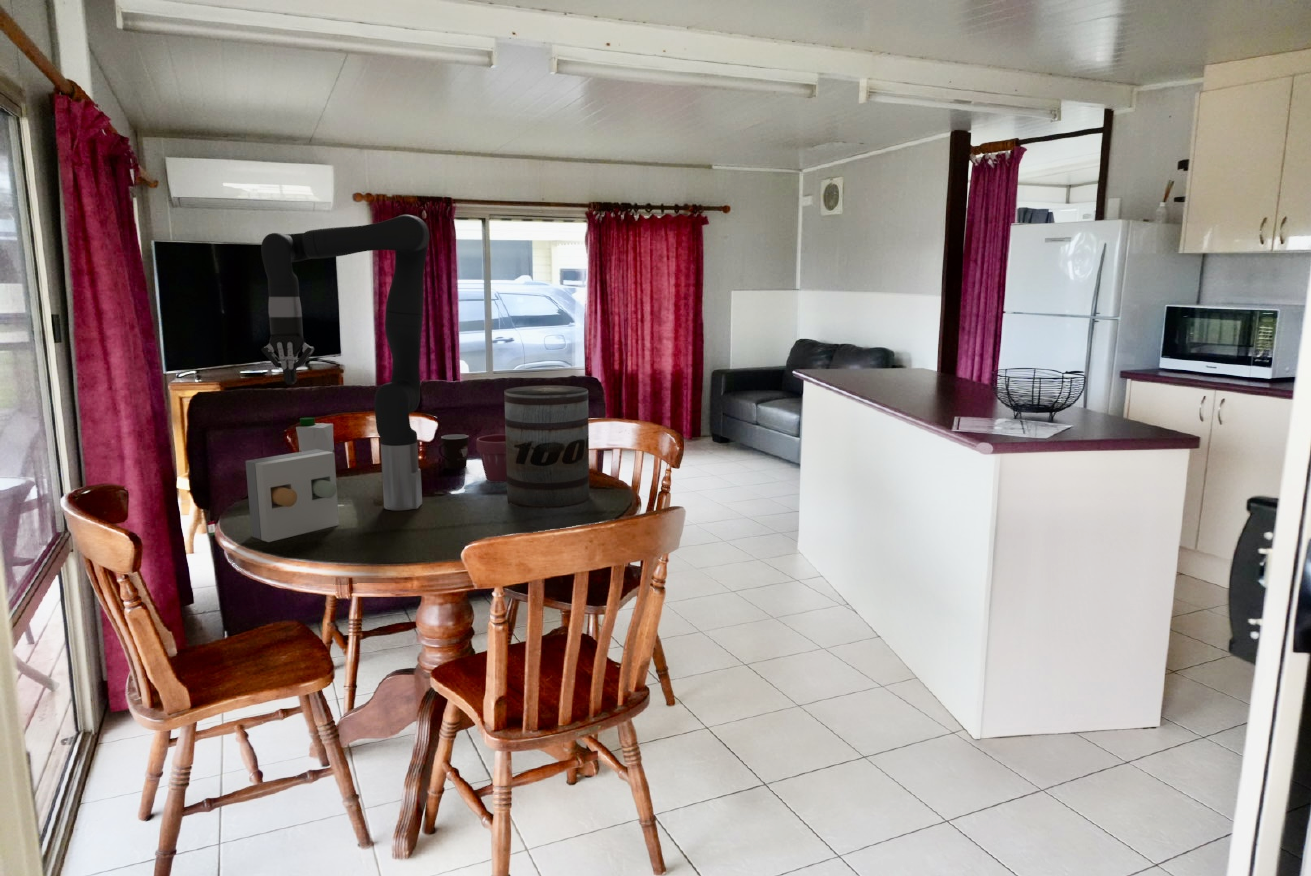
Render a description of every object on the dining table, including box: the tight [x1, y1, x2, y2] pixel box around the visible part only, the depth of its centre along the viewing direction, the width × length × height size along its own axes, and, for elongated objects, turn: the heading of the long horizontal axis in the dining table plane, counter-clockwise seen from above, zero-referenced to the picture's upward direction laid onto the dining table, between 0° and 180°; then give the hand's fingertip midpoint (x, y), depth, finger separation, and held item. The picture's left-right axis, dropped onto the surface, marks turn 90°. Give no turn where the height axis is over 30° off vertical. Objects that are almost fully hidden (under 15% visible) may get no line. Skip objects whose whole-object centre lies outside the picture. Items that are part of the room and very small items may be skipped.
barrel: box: [503, 385, 590, 510], centre depth 232 cm, size 22×22×30 cm
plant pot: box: [476, 433, 507, 483], centre depth 257 cm, size 14×14×13 cm
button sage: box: [311, 479, 337, 498], centre depth 203 cm, size 6×4×4 cm, turn 53°
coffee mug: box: [438, 433, 469, 470], centre depth 273 cm, size 12×9×10 cm
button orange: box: [270, 486, 297, 507], centre depth 195 cm, size 6×4×4 cm, turn 53°
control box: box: [245, 449, 340, 543], centre depth 201 cm, size 7×18×18 cm, turn 143°
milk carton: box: [295, 416, 335, 454], centre depth 247 cm, size 9×9×20 cm
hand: (290, 383), depth 216 cm, fingers closed
